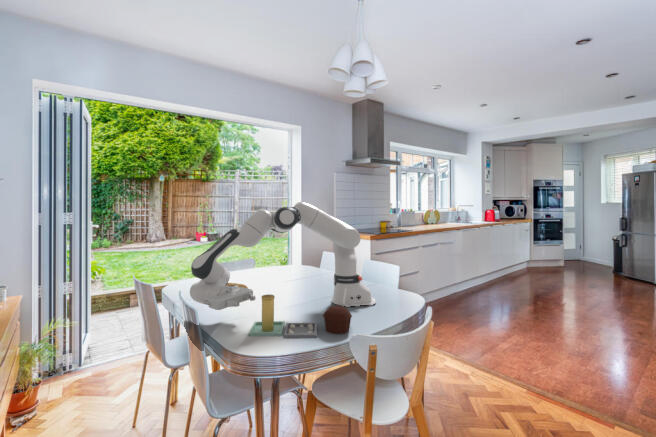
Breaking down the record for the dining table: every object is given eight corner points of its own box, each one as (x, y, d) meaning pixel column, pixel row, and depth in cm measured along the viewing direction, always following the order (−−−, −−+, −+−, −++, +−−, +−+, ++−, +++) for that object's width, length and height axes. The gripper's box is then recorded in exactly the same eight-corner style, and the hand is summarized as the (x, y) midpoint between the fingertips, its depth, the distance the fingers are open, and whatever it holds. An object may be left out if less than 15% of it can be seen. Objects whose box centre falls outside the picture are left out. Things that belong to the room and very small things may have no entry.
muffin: (327, 325, 133) (328, 301, 132) (354, 328, 129) (354, 303, 129) (318, 336, 121) (319, 310, 121) (347, 340, 118) (347, 313, 118)
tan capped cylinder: (274, 327, 128) (275, 294, 127) (273, 331, 123) (273, 298, 122) (262, 327, 128) (262, 294, 127) (260, 331, 123) (260, 297, 122)
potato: (243, 301, 165) (243, 286, 165) (218, 299, 168) (218, 284, 168) (251, 296, 175) (251, 281, 174) (227, 294, 178) (227, 280, 177)
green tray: (284, 326, 132) (284, 321, 131) (281, 338, 120) (281, 332, 119) (255, 326, 131) (255, 321, 131) (248, 338, 119) (248, 333, 119)
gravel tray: (316, 327, 130) (316, 321, 130) (316, 340, 118) (316, 333, 118) (286, 328, 130) (286, 322, 129) (283, 340, 118) (283, 334, 118)
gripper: (201, 294, 126) (227, 299, 120) (238, 284, 145) (262, 288, 138) (201, 310, 127) (227, 316, 120) (238, 298, 145) (262, 302, 138)
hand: (246, 301), depth 129 cm, fingers open, 8 cm apart
